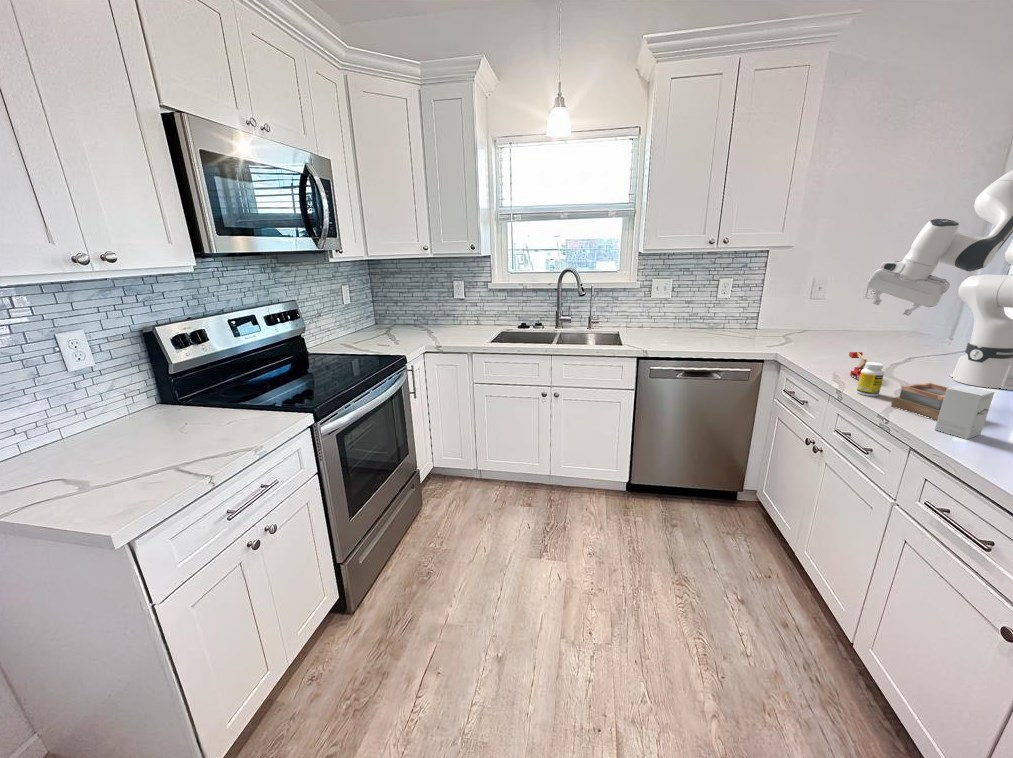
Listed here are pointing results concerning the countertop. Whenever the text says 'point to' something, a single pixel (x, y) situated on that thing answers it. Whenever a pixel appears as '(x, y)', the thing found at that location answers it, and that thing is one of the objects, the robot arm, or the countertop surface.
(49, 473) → the countertop surface
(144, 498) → the countertop surface
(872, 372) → the pill bottle
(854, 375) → the toy fire truck
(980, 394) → the supplement box
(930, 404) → the wooden tray
